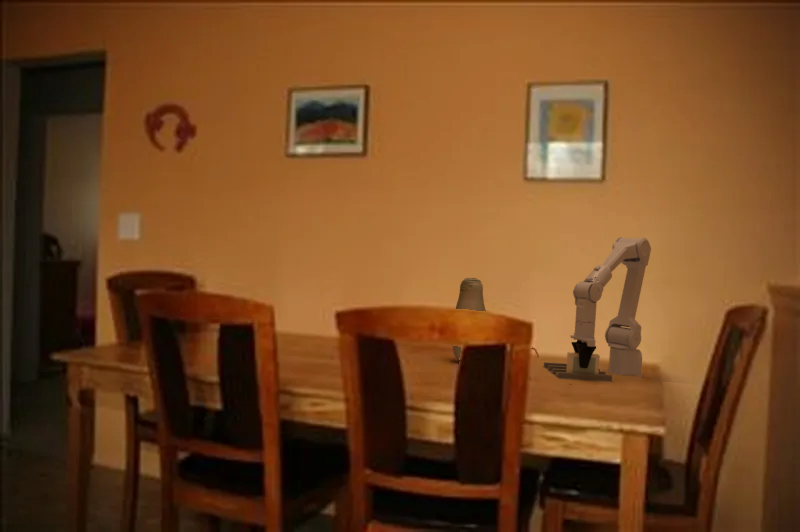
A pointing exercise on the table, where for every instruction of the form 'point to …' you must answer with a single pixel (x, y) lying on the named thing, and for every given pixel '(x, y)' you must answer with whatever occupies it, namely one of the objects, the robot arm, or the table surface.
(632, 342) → the robot arm
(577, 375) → the ridged panel
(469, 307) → the grey tall rounded piece
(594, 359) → the picture frame
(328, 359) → the table surface
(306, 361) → the table surface
